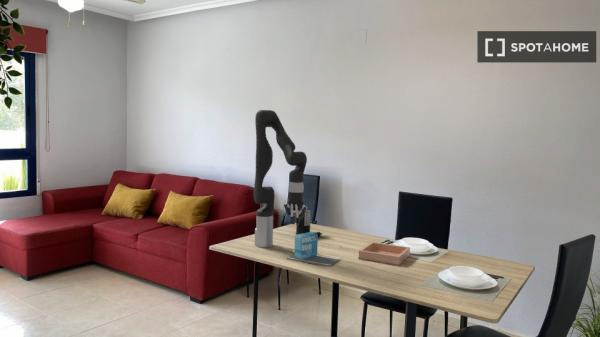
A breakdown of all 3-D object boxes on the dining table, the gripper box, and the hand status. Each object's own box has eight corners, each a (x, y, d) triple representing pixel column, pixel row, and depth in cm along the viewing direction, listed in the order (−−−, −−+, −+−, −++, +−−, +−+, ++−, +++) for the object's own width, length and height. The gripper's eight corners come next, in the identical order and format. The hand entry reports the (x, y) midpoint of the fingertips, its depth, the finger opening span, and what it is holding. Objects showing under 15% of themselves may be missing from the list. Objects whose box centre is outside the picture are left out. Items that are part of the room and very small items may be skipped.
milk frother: (295, 232, 285) (295, 209, 283) (319, 232, 286) (320, 209, 285) (296, 238, 271) (297, 213, 269) (323, 238, 272) (323, 213, 271)
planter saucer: (358, 259, 231) (358, 250, 231) (371, 249, 249) (371, 241, 248) (399, 265, 221) (399, 257, 221) (409, 255, 239) (410, 247, 238)
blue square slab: (300, 260, 225) (300, 236, 224) (294, 258, 228) (294, 235, 227) (317, 255, 233) (317, 233, 232) (311, 253, 236) (311, 231, 235)
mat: (286, 258, 229) (286, 257, 229) (298, 253, 240) (298, 251, 240) (329, 266, 218) (329, 265, 218) (339, 260, 228) (339, 259, 228)
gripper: (280, 190, 230) (280, 223, 232) (304, 192, 224) (304, 227, 225) (288, 188, 237) (287, 221, 239) (311, 191, 230) (310, 224, 232)
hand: (295, 224), depth 232 cm, fingers closed
